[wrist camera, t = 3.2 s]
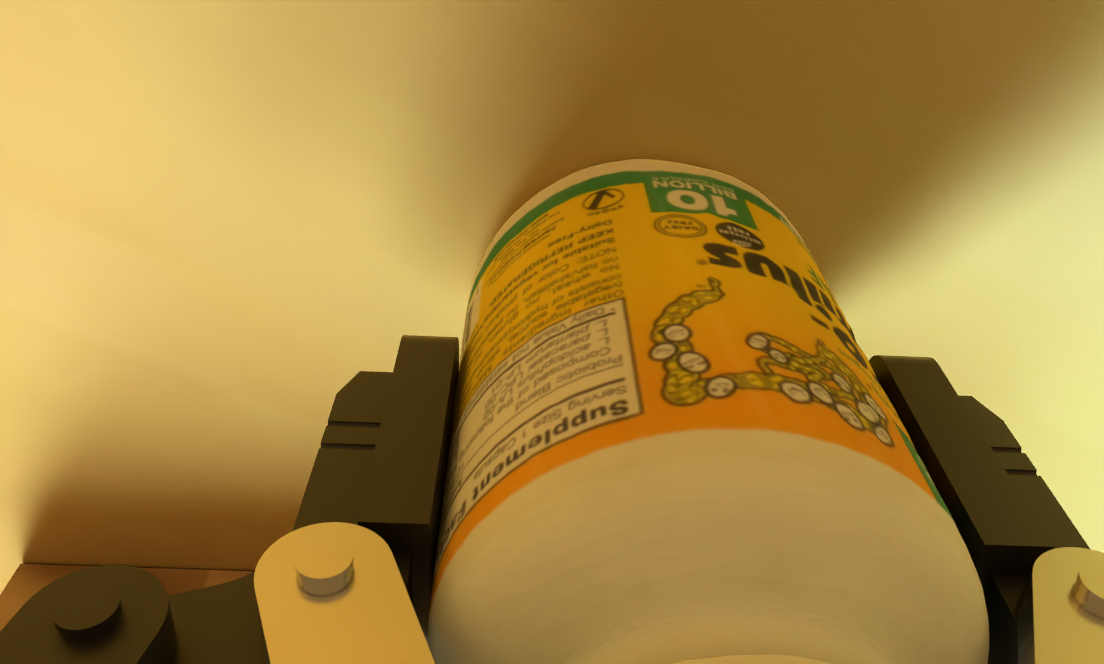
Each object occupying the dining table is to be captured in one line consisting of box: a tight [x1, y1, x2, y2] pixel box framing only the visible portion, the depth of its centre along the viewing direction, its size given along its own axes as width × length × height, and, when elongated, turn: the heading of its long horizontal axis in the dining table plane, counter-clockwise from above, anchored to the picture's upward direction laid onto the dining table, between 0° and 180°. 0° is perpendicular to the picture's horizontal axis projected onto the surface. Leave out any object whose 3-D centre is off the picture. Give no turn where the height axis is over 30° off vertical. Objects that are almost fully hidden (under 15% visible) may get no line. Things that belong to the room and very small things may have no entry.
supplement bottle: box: [427, 159, 989, 664], centre depth 11 cm, size 5×5×10 cm
